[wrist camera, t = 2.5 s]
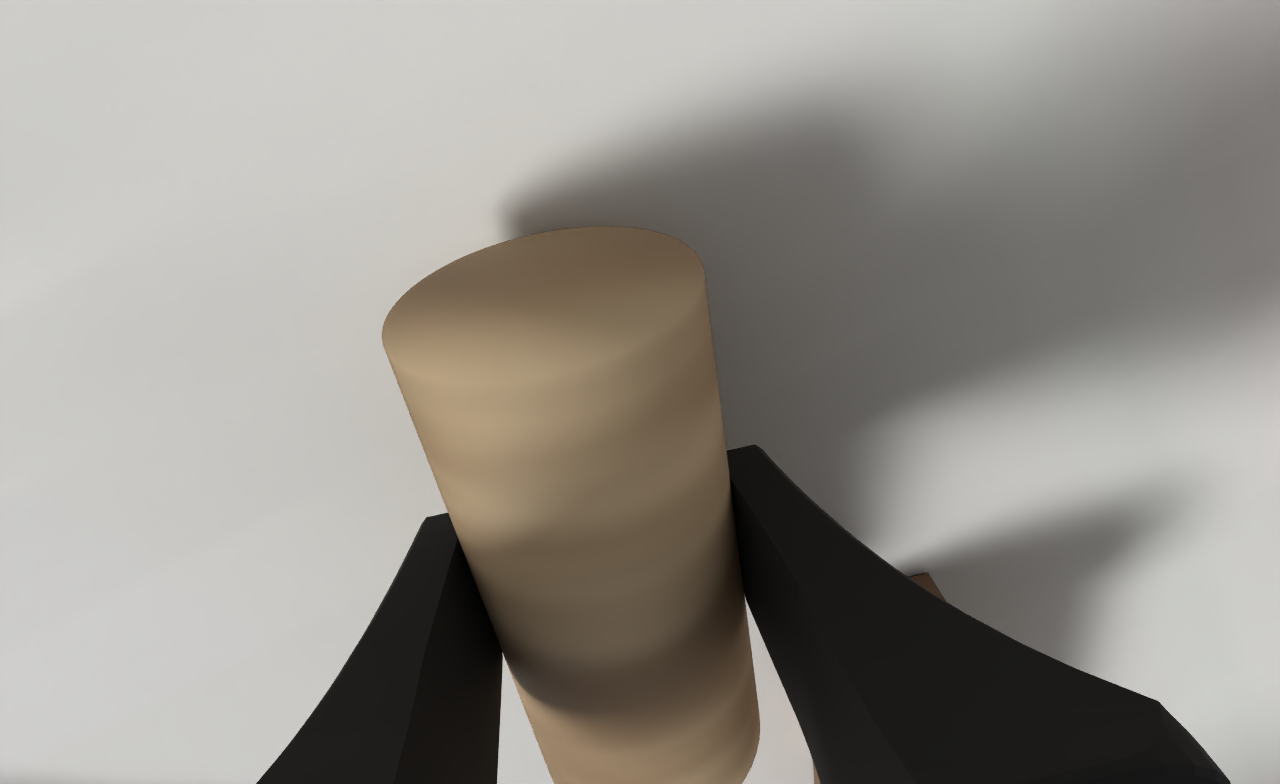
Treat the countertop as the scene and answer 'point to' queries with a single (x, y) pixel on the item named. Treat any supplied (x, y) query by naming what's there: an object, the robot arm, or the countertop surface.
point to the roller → (591, 494)
